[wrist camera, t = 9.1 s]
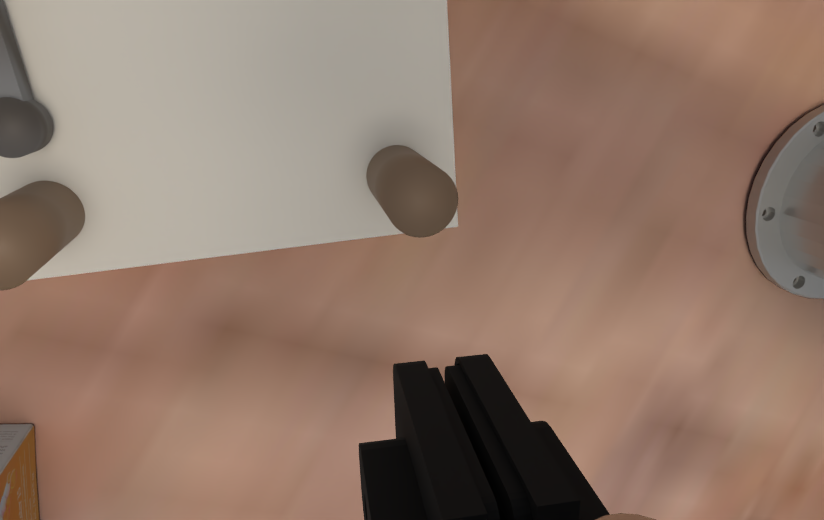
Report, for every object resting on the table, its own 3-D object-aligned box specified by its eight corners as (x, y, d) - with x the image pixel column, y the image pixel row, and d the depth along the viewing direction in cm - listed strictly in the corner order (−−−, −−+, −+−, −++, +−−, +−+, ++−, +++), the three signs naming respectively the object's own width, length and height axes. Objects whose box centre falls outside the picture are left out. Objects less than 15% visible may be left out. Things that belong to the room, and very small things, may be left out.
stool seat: (425, -162, 29) (480, -244, 21) (446, 215, 35) (495, 261, 27) (-105, -151, 25) (-279, -246, 17) (17, 267, 31) (-73, 339, 23)
